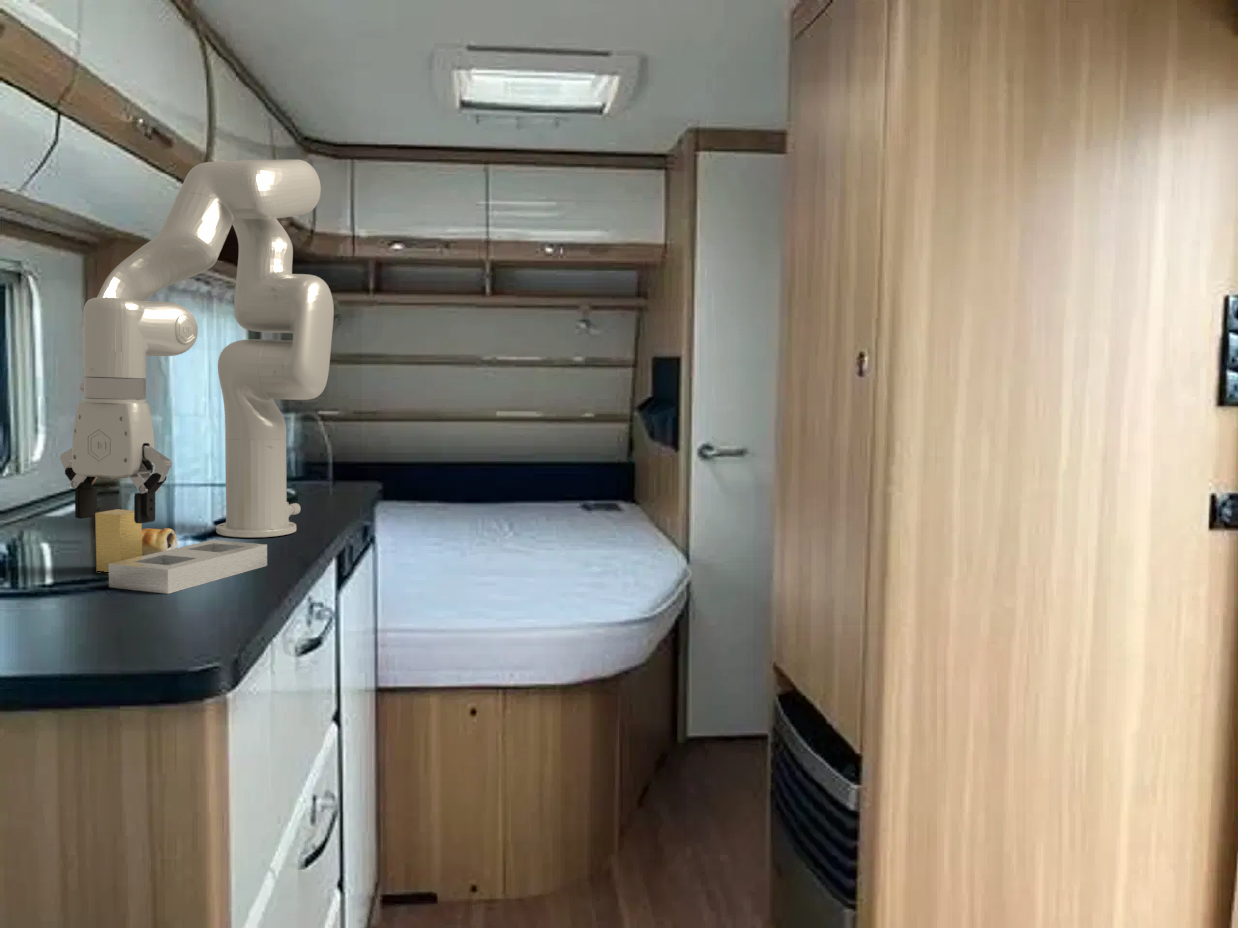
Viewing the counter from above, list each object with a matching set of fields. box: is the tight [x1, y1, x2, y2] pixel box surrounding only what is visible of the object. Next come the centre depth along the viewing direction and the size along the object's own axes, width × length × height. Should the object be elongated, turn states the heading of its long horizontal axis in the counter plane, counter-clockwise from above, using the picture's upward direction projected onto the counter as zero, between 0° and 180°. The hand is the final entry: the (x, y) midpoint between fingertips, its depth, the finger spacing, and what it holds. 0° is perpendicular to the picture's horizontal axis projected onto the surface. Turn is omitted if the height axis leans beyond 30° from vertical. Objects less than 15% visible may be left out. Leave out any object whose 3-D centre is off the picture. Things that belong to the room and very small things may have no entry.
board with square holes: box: [108, 539, 268, 595], centre depth 147 cm, size 20×9×3 cm, turn 162°
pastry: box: [142, 527, 179, 556], centre depth 163 cm, size 9×7×4 cm
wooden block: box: [94, 508, 143, 572], centre depth 149 cm, size 4×4×8 cm
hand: (115, 519), depth 148 cm, fingers open, 9 cm apart
